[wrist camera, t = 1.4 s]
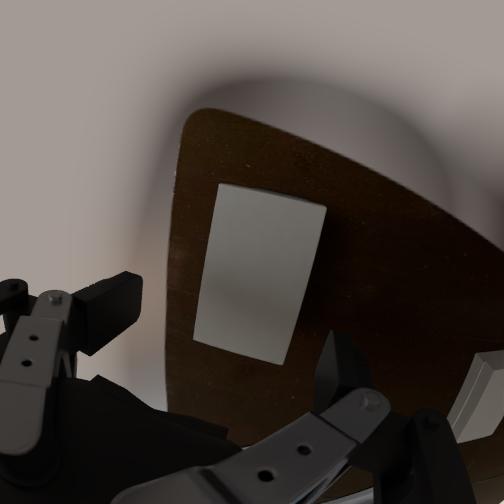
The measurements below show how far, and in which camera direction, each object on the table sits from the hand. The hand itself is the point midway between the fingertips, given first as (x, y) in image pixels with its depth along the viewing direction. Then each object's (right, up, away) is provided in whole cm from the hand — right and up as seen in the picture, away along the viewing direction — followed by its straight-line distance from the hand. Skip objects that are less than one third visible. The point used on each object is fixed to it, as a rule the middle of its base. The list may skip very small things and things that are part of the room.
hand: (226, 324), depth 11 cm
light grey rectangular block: (+2, +2, +8) cm, 8 cm away
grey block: (+26, -12, +10) cm, 31 cm away
